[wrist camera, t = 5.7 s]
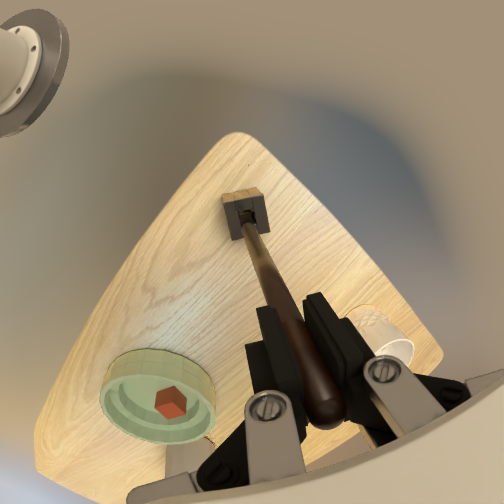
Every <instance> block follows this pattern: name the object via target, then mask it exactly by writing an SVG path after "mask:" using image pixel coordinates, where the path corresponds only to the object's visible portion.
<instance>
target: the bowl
mask: <svg viewBox="0 0 504 504" xmlns="http://www.w3.org/2000/svg"><path fill="white" fill-rule="evenodd" d="M171 386H175V387H176V388H177V389H178V390H179V391H180V392H181V393H182V394H183V395H184V396H185V397H186V398H187V405H186V415H183V416H179V417H176V418H173V419H169V420H167V419H166V418H165V417H164V416H163V415H162V414H161V413H159V412H158V411H157V410H156V409H155V408H154V406H155V399H156V393H157V391H160V390H163V389H166V388H169V387H171ZM99 402H100V405H101V408H102V410H103V413H104V414H105V415H106V417H107V418H108V419H109V420H110V422H111V423H112V424H114V425H115V426H116V427H118V428H119V429H120V430H122V431H123V432H125V433H127V434H129V435H131V436H133V437H135V438H137V439H140V440H144V441H147V442H151V443H156V444H166V445H176V444H186V443H189V442H193V441H196V440H199V439H200V438H202V437H204V436H205V435H207V434H208V433H209V432H210V431H211V429H212V428H213V426H214V425H215V418H216V408H215V388H214V386H213V383H212V381H211V379H210V377H209V376H208V375H207V374H206V373H205V372H204V371H203V369H202V368H201V367H200V366H199V365H197V364H195V363H194V362H192V361H190V360H188V359H187V358H185V357H183V356H180V355H177V354H173V353H170V352H167V351H163V350H153V349H143V350H136V351H130V352H128V353H126V354H124V355H122V356H120V357H118V358H116V359H115V361H114V362H113V363H112V364H111V366H110V367H109V369H108V372H107V375H106V377H105V380H104V383H103V386H102V389H101V393H100V400H99Z"/></svg>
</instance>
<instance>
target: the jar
mask: <svg viewBox="0 0 504 504" xmlns="http://www.w3.org/2000/svg"><path fill="white" fill-rule="evenodd" d="M214 451H215V446H214V445H213V444H212V443H211V442H210V441H209V440H208V439H207V438H205V437H202V438H200V439H199V440H196V441H193V442H189V443H186V444H176V445H167V450H166V465H165V478H169V477H172V476H175V475H178V474H181V473H183V472H186V471H188V473H191V472H194V471H196V470H198V468H199V467H200V466H201V464H202V463H203V462H204V461H205V460H206V459H207V458H208V457H209V456H210V455H211V454H212V453H213V452H214Z"/></svg>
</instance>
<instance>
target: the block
mask: <svg viewBox="0 0 504 504" xmlns="http://www.w3.org/2000/svg"><path fill="white" fill-rule="evenodd" d="M186 405H187V398H186V397H185V396H184V395H183V394H182V393H181V392H180V391H179V390H178V389H177V388H176V387H175V386H171V387H169V388H166V389H163V390H160V391H157V393H156V399H155V406H154V408H155V409H156V410H157V411H158V412H159V413H161V414H162V415H163V416H164V417H165V418H166V419H167V420H169V419H173V418H176V417H179V416H183V415H186Z"/></svg>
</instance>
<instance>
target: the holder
mask: <svg viewBox="0 0 504 504" xmlns="http://www.w3.org/2000/svg"><path fill="white" fill-rule="evenodd" d="M222 198H223V204H224V209H225V213H226V218H227V222H228V226H229V231H230V235H231V239H232V241H233V240H238V239H242V238H244V237H243V234H242V231H241V228H242V226H243V225H244V224H245V223H252V224H253V225H254V226H255V228H256V230H257V231H258V233H259V234H264V233H268V232H270V227H269V222H268V217H267V211H266V206H265V201H264V196H263V194H262V193H261V192H260V191H259V190H258V189H257V188H256V187H255V188H250V189H245V190H240V191H236V192H232V193H227V194H223V195H222ZM248 209H250V211H251V213H247V214H242V215H238V212H239V211H244V210H248Z"/></svg>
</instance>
